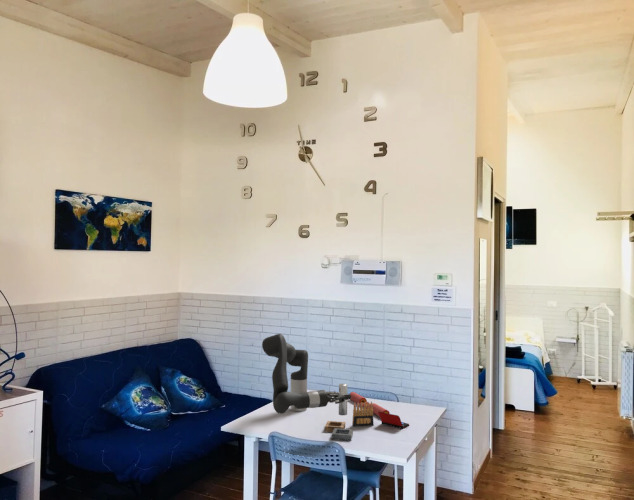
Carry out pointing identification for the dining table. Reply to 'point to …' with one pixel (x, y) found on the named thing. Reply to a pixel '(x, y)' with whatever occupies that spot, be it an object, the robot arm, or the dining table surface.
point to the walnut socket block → (334, 425)
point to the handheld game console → (392, 420)
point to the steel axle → (344, 404)
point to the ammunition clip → (363, 415)
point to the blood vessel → (358, 398)
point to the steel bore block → (342, 434)
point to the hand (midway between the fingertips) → (348, 395)
